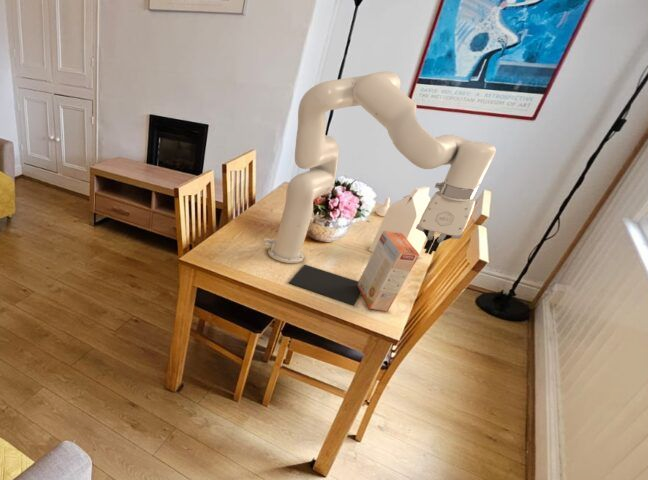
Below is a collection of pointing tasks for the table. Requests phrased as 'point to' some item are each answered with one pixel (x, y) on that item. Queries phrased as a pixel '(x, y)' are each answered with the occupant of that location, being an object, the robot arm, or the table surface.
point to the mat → (327, 284)
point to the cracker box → (387, 270)
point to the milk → (406, 218)
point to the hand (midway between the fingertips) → (428, 252)
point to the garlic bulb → (383, 208)
